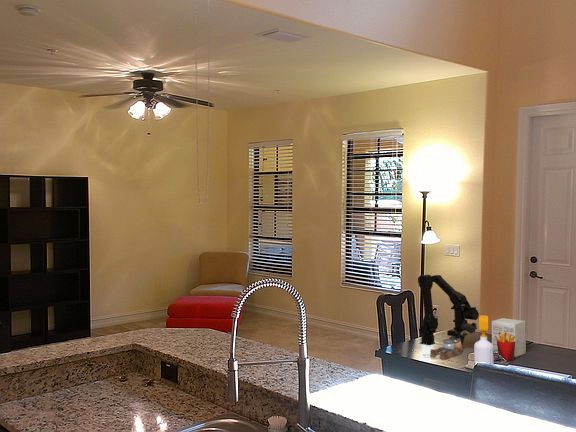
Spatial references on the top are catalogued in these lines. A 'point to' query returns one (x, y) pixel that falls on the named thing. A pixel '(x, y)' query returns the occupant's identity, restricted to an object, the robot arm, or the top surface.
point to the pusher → (445, 349)
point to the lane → (444, 355)
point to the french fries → (506, 346)
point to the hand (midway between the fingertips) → (460, 346)
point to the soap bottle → (483, 343)
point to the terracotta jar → (457, 342)
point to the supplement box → (510, 327)
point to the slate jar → (449, 344)
